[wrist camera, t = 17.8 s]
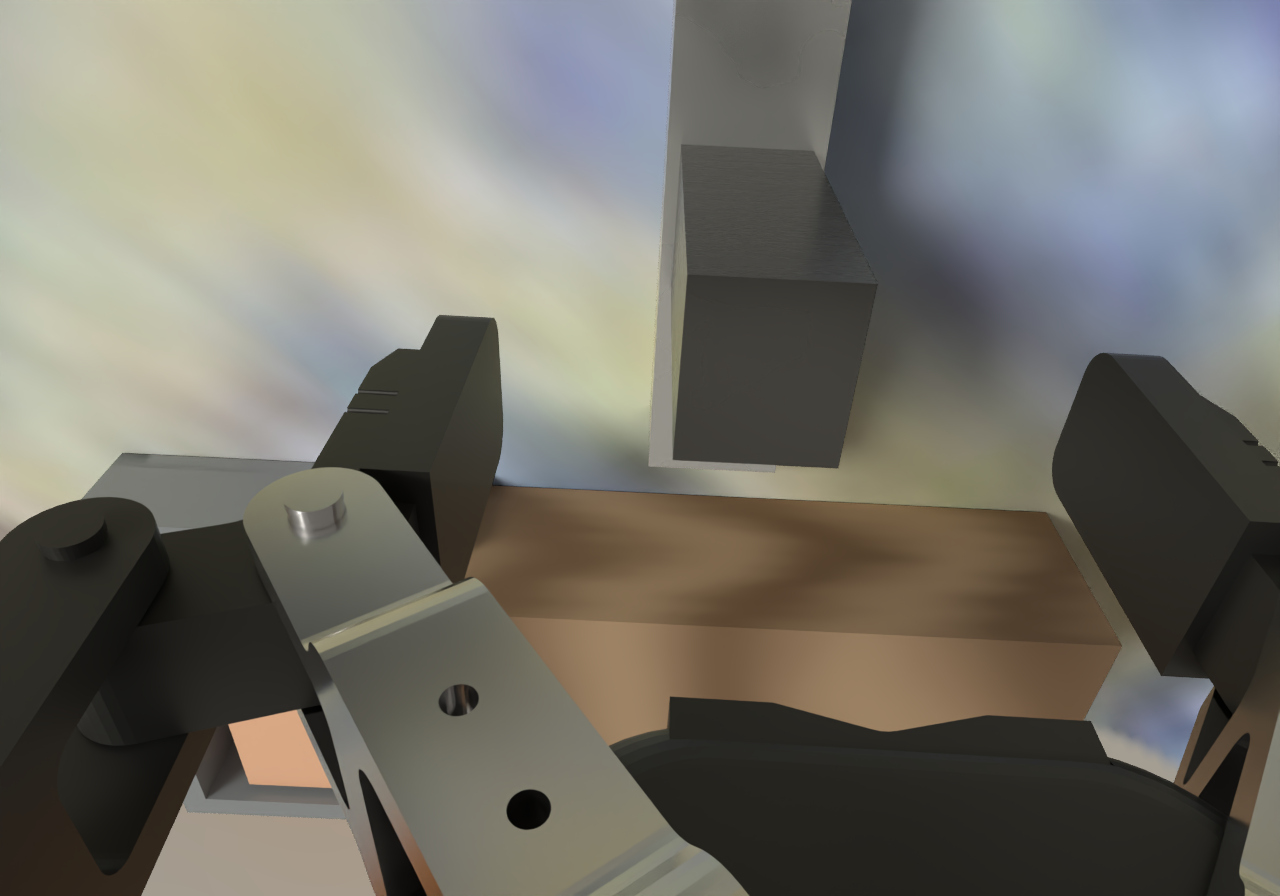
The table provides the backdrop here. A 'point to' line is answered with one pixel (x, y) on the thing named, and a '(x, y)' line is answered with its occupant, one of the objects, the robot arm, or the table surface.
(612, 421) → the table surface
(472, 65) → the table surface
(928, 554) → the walnut block
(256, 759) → the peach flat block
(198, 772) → the tray
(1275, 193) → the table surface
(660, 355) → the scraper
